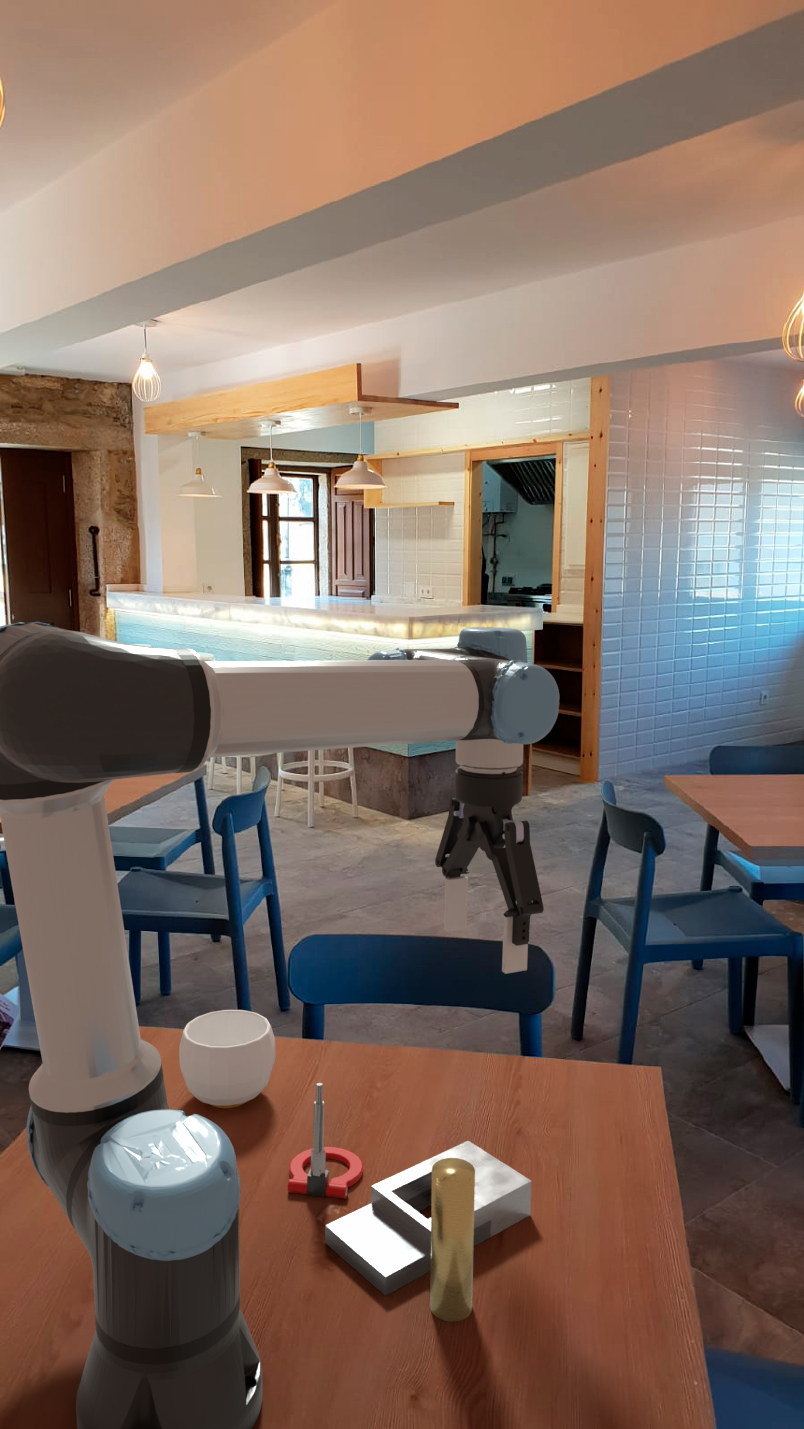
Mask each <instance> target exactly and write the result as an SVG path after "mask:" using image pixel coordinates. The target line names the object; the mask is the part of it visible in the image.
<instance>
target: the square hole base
mask: <svg viewBox="0 0 804 1429" xmlns="http://www.w3.org/2000/svg"><path fill="white" fill-rule="evenodd" d="M446 1158H459V1159H463V1160H465V1161H468V1162H469V1163H471V1164H472V1165H473V1167H474V1169H475V1196H474V1246H473V1248H475V1247H476V1246H477V1245H480V1244H482V1243H483V1242H484V1241H487V1240H488V1239H490V1238H492V1237H494V1236H495V1235H497V1234H500V1233H501V1232H502V1231H503V1232H504V1231H505V1230H506V1229H508V1228H510V1227H512V1226H513V1225H515V1224H517V1223H519V1222H521V1221H522V1220H524V1219H526V1218H528V1217H530V1216H531V1215H532V1214H531V1211H532V1210H531V1209H532V1208H531V1207H532V1204H531V1203H532V1180H531V1179H530V1178H528V1177H527V1176H525V1175H523V1174H521V1173H520V1172H518V1171H517V1170H515V1169H514V1168H512V1167H511V1166H509V1165H508V1164H506V1163H504V1162H502V1161H501V1160H499V1159H498V1158H496V1157H495V1156H494V1155H491V1154H490V1153H488V1152H487V1151H485V1150H484V1149H482V1148H481V1147H479V1146H478V1145H476V1144H475V1143H473V1142H471V1141H469V1140H466V1141H464V1142H462V1143H460V1144H458V1145H456V1146H453V1147H451V1148H450V1149H449V1148H448V1149H447V1150H445V1151H443V1152H441V1153H438V1154H436V1155H435V1156H432V1157H431V1158H427V1159H426V1160H423V1161H421V1162H420V1163H417V1164H415V1165H413V1166H411V1167H409V1168H407V1169H404V1170H402V1171H401V1172H398V1173H395V1174H394V1175H392V1176H390V1177H387V1178H385V1179H383V1180H381V1181H379V1182H377V1183H374V1184H373V1185H371V1195H370V1196H371V1200H370V1201H371V1203H368V1204H367V1205H364V1206H362V1207H361V1208H359V1209H357V1210H355V1211H352V1212H350V1213H348V1214H346V1215H344V1216H341V1217H339V1218H338V1219H336V1220H333V1221H331V1222H329V1223H327V1224H325V1227H324V1228H325V1229H324V1230H325V1231H324V1232H325V1238H324V1239H325V1245H327V1246H328V1247H329V1248H331V1250H332V1251H334V1252H335V1253H336V1254H337V1255H338V1256H339V1257H340V1258H342V1259H343V1260H344V1262H346V1263H347V1264H348V1265H350V1266H351V1267H352V1269H354V1270H355V1271H357V1272H358V1274H360V1275H361V1276H362V1277H363V1278H364V1279H365V1280H367V1281H368V1282H369V1283H370V1284H371V1285H372V1286H373V1287H374V1288H376V1289H377V1291H379V1292H380V1293H381V1294H383V1295H384V1296H385V1297H386V1296H388V1295H390V1294H392V1293H393V1292H395V1291H397V1290H398V1289H401V1288H402V1287H404V1286H406V1285H408V1284H410V1283H411V1282H413V1281H415V1280H417V1279H419V1278H420V1277H422V1276H424V1275H425V1274H427V1273H430V1272H431V1217H429V1218H427V1217H425V1215H423V1214H421V1213H420V1212H421V1211H422V1210H424V1209H426V1208H428V1207H430V1206H431V1198H432V1167H433V1165H434V1164H435V1163H436V1162H437V1161H439V1160H442V1159H446Z"/></svg>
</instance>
